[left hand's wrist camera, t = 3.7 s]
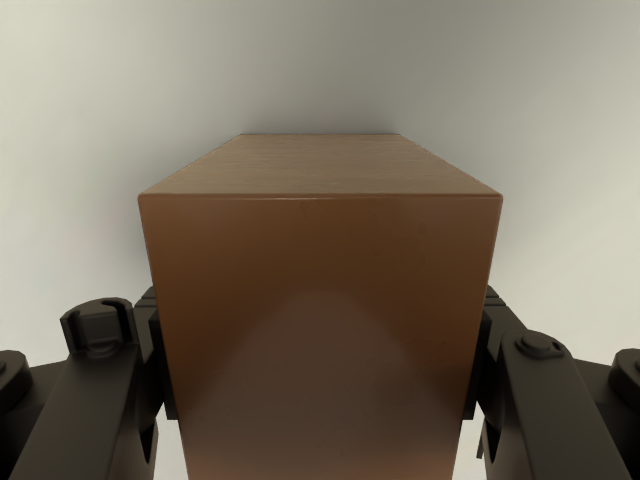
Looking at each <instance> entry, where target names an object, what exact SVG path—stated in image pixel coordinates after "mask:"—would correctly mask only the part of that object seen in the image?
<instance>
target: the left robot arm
mask: <svg viewBox="0 0 640 480" xmlns="http://www.w3.org/2000/svg"><path fill="white" fill-rule="evenodd" d="M134 306H135V307H134V308H132V303H131V302H129V301H128V300H126V299H122V298H117V297H114V298H101V299H97V300H92V301H88V302H86V303H83V304H80V305H78V306H76V307H74V308H72V309H71V310H69V311H67V312H66V313H65V314H64V315H63V316H62V317H61V318H60V322H61V326H62V329H63V332H64V336H65V339H66V343H67V346H68V349H69V353H70V354H69V356H68V358H67V360H65V361H61V362H56V363H51V364H46V365H41V366H36V367H30V368H29V365H28V362H27V360H26V357H25V355H24V354H22V353H21V352H19V351H12V350H5V351H0V480H153V477H154V468H155V460H156V451H157V443H158V434H159V433H158V427H157V422H156V416H157V414H158V412H159V410H160V408H161V406H162V404H163V402H164V406H165V411H166V416H167V420H178V419H177V413H176V408H175V402H174V397H173V391H172V386H171V380H170V375H169V369H168V364H167V358H166V353H165V347H164V342H163V336H162V331H161V325H160V320H159V314H158V309H157V303H156V298H155V292H154V287H153V286H152V287H150V288H149V289H148V290H147V291H146V293H145V294H144V295H143V296H142V297H141V299H140V300H139V301H138V302H137V303H136V304H135V305H134ZM477 401H478V403H479V405H480V407H481V409H482V411H483V413H484V415H485V417H484V422H483V426H482V431H481V436H480V441H479V446H478V450H477V457H476V458H479V459H482V455H483V451H484V459H485V467H486V476H487V480H640V349H634V348H631V349H622V350H621V351H619V352H618V353H616V355H615V358H614V361H613V363H612V366H608V365H603V364H598V363H593V362H588V361H583V360H578V359H574V358H573V357H572V355H571V353H570V352H569V351H568V349H567V348H566V347H565V346H564V345H563V344H562V343H560V342H559V341H557V340H556V339H555V338H553V337H550V336H548V335H546V334H543V333H541V332H537V331H533V330H529V329H527V328H526V327H525V326H524V324H523V323H522V322H521V321H520V320H519V319H518V317H517V316H516V315H515V314H514V313H513V312H512V310H511V309H510V308H509V307H508V306H506V304H505V302H504V301H503V300H502V299H501V298H499V295H498V294H497V293H496V292H495V291H494V290H493V288H492V287H491V286H489V285H488V284H487V290H486V295H485V301H484V306H483V312H482V317H481V323H480V328H479V334H478V339H477V344H476V350H475V355H474V361H473V366H472V372H471V377H470V383H469V388H468V394H467V399H466V405H465V410H464V415H463V420H473V417H474V412H475V407H476V402H477Z"/></svg>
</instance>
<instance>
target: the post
mask: <svg viewBox="0 0 640 480" xmlns="http://www.w3.org/2000/svg"><path fill="white" fill-rule="evenodd" d="M502 203H503V196H502V194H500V193H499V192H497V191H495V190H493V189H492V188H490V187H488V186H487V185H485V184H483V183H481V182H480V181H478V180H476V179H475V178H473V177H471V176H470V175H468V174H466V173H464V172H463V171H461V170H459V169H458V168H456V167H454V166H452V165H451V164H449V163H447V162H446V161H444V160H442V159H440V158H439V157H437V156H435V155H434V154H432V153H430V152H429V151H427V150H425V149H423V148H422V147H420V146H418V145H417V144H415V143H413V142H411V141H410V140H408V139H406V138H405V137H403V136H401V135H399V134H241V135H239V136H237V137H236V138H234V139H232V140H230V141H229V142H227V143H225V144H224V145H222V146H220V147H219V148H217V149H215V150H213V151H212V152H210V153H208V154H207V155H205V156H203V157H202V158H200V159H198V160H196V161H195V162H193V163H191V164H190V165H188V166H186V167H185V168H183V169H181V170H179V171H178V172H176V173H174V174H173V175H171V176H169V177H168V178H166V179H164V180H162V181H161V182H159V183H157V184H156V185H154V186H152V187H151V188H149V189H147V190H145V191H144V192H142V193H140V194H139V195H138V205H139V210H140V216H141V221H142V227H143V232H144V238H145V243H146V249H147V254H148V260H149V265H150V271H151V276H152V282H153V287H154V292H155V298H156V303H157V309H158V314H159V320H160V325H161V331H162V336H163V342H164V347H165V353H166V358H167V364H168V369H169V375H170V380H171V386H172V391H173V397H174V402H175V408H176V413H177V419H178V424H179V430H180V435H181V440H182V446H183V451H184V457H185V462H186V468H187V473H188V479H189V480H452V475H453V470H454V465H455V459H456V454H457V448H458V443H459V437H460V432H461V426H462V421H463V415H464V410H465V405H466V399H467V394H468V388H469V383H470V377H471V372H472V366H473V361H474V355H475V350H476V344H477V339H478V334H479V328H480V323H481V317H482V312H483V306H484V301H485V295H486V290H487V284H488V279H489V274H490V268H491V263H492V257H493V252H494V246H495V241H496V235H497V230H498V224H499V219H500V213H501V208H502Z"/></svg>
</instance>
